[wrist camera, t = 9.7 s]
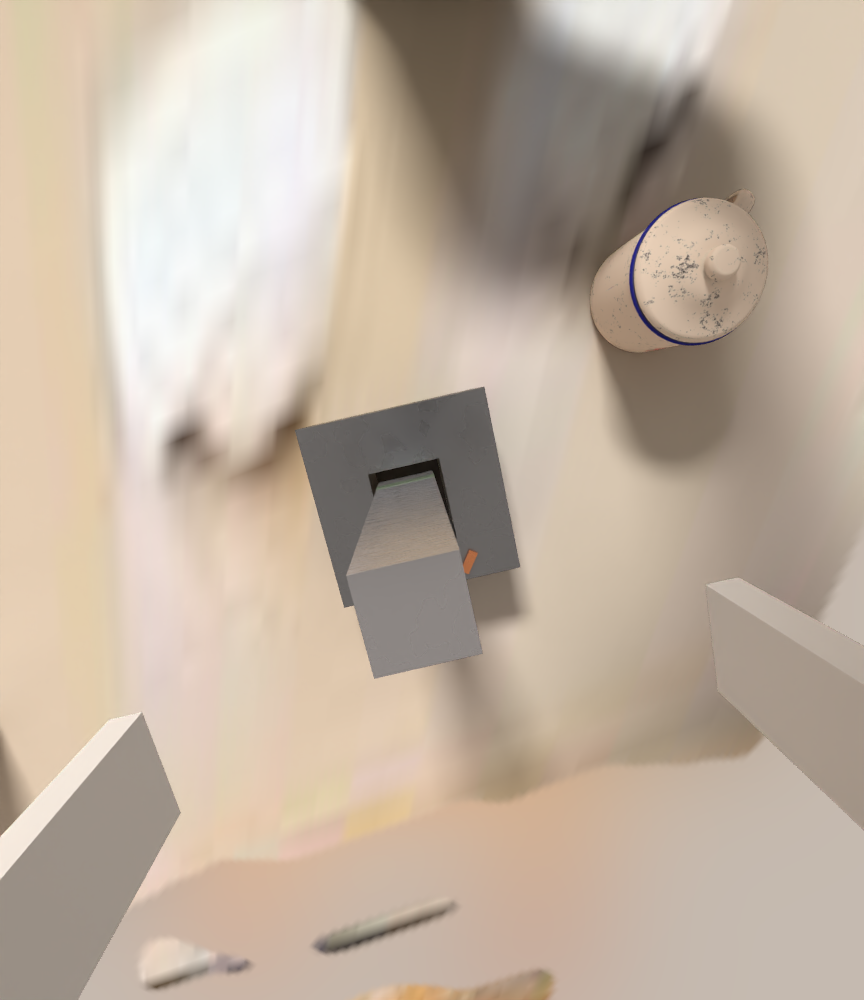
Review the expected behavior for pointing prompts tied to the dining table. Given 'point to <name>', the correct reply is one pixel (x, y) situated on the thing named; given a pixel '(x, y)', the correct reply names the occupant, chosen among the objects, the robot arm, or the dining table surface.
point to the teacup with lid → (683, 276)
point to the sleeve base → (404, 441)
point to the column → (411, 580)
